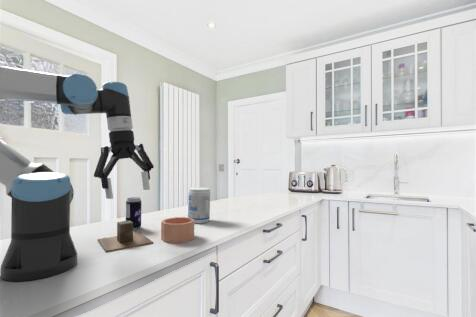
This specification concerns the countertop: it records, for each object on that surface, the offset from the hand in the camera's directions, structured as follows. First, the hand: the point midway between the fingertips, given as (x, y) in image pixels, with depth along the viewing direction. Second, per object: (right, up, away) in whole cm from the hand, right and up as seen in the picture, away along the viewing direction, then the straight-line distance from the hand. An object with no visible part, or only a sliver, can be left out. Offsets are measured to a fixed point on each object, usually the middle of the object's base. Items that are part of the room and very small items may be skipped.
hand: (129, 193), depth 88 cm
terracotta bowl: (+16, -16, +3) cm, 22 cm away
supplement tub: (+19, -16, +29) cm, 38 cm away
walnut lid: (-1, -16, -2) cm, 16 cm away
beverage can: (-5, -16, +15) cm, 23 cm away
